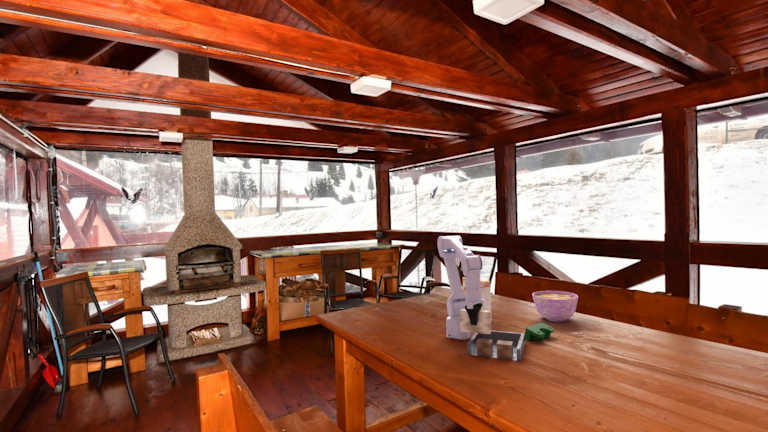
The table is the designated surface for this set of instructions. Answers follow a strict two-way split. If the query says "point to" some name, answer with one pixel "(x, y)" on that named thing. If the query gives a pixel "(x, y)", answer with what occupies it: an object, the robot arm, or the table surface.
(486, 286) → the coffeecake box
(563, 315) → the bowl of food
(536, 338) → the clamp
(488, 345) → the offcut left
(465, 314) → the birch block
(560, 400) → the table surface
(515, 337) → the tray
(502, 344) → the offcut right
